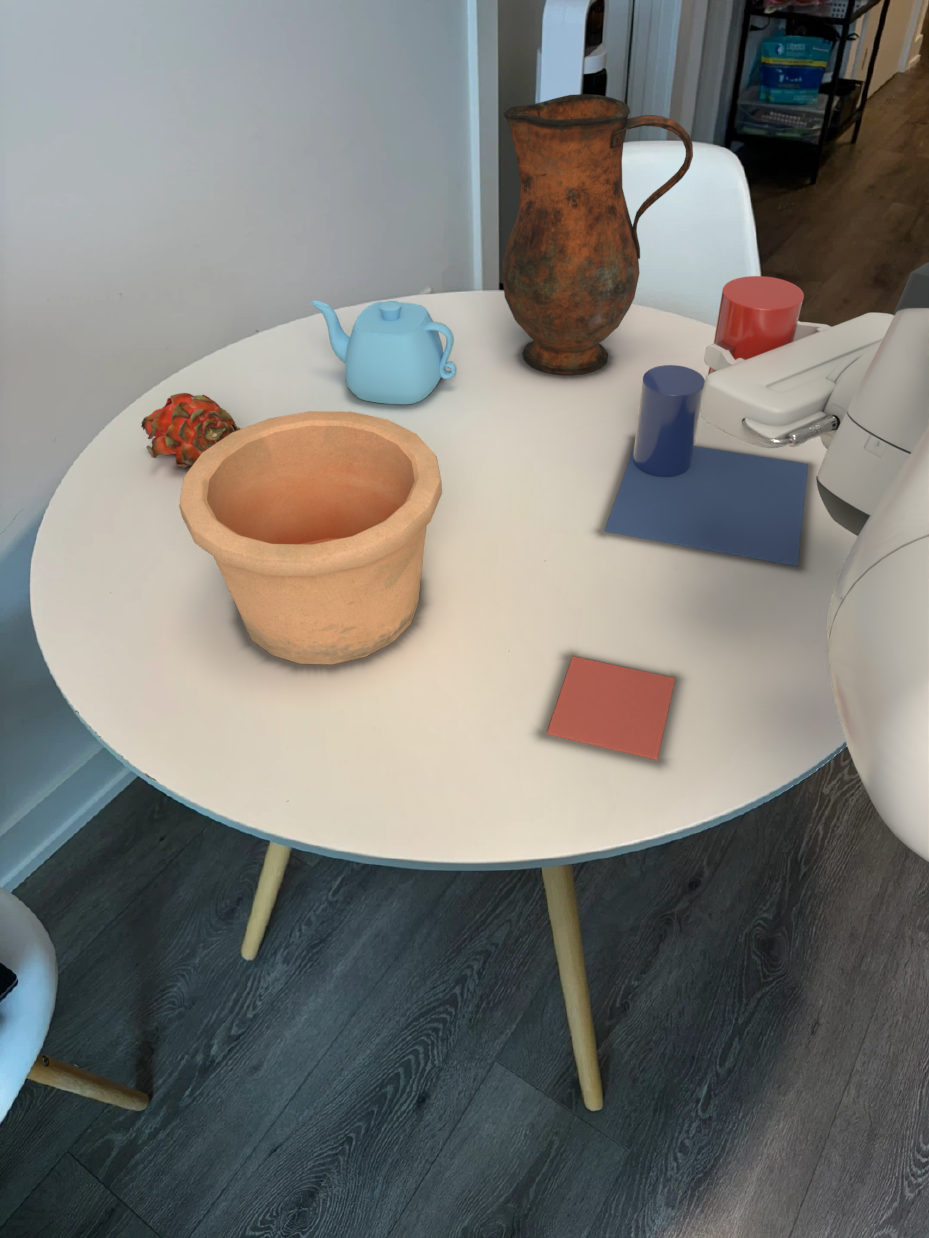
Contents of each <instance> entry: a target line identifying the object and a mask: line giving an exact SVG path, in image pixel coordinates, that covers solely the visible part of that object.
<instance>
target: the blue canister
mask: <svg viewBox="0 0 929 1238" xmlns="http://www.w3.org/2000/svg"><path fill="white" fill-rule="evenodd" d="M704 382H705V377H704V376H703V375H702V374H701V373H700V372H698V371H697V370H695V369H693V368H690V367H687V366H683V365H674V364H666V365H665V364H664V365H659V366H655V367H652V368H650V369H648V370H647V371H645V373H644V374H643V376H642V381H641V390H640V396H639V397H640V398H639V406H638V414H637V422H636V430H635V436H634V445H633V448H634V453H633V462H634V464H635V465H636V467H637V468H638V469H640V470H641V471H643V472H645V473H647V474H650V475H653V476H658V477H673V476H677V475H680V474H683V473H684V472H686V471H687V470H688V469H689V468H690V466H691V461H692V455H693V450H694V446H695V443H696V438H697V434H698V433H697V432H698V427H699V422H700V421H699V420H700V417H701V416H700V415H701V411H700V404H701V396H702V391H703V386H704Z"/></svg>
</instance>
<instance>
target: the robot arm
mask: <svg viewBox="0 0 929 1238" xmlns="http://www.w3.org/2000/svg"><path fill="white" fill-rule="evenodd" d="M908 276H909V277H908V279H907V281H906V283H905V285H904V288H903V291H902V293H901V295H900V298H899V300H898V303H896V307H895V308H894V312H893V314H891V313H887V312H886V313H885V312H867V313H864V314H862V315H860V316H857V317H854V318H852V319H849V320H846V321H844V322H841V323H838V324H836V325H833V326H831V325H828V324H825V323H816V322H808V321H807V322H806V321H800V320H798V325H797V329H796V333H795V337H794V342H791V343H789V344H786V345H783V346H781V347H778V348H776V349H773V350H770V351H768V352H765V353H762V354H760V355H757V356H755V357H752V358H749V359H747V360H744V359H742V358H738V359H736V360H735V359H734V358H733V355H734V349H735V347H734V346H732V345H730V344H726V342H724V341H719V342H717V343H714V342H713V343H714V344H713V343H711V344H708V345H707V346H706V347H705V353H704V358H703V359H704V364H705V365H706V367H707V366H708V368H709V367H711V368H713V369H714V370H716V371H715V372H713V373H710V374H709V375H708V374H707V375H706V377H704V380H705V382H704V386H703V391H702V396H701V404H700V415H701V416H700V417H701V418H702V420H703V421H704V422H706V423H707V424H708V425H710V426H713V427H714V428H716V429H718V430H720V431H722V432H724V433H726V434H728V435H730V436H732V437H734V438H736V439H739V440H741V441H743V442H745V443H748V444H750V445H753V446H756V447H759V448H763V449H780V448H782V447H783V448H784V447H785V446H786V447H787V446H788V447H791V448H793V447H794V448H795V447H798V446H801V445H804V444H806V442H808V441H809V440H812V439H815V438H818V437H820V441H821V443H822V445H823V447H824V448H825V449H827V450H826V452H825V454H824V456H823V459H822V461H821V464H820V465H819V470H818V473H817V475H816V477H815V479H816V486H817V491H818V493H819V497H820V499H821V501H822V503H823V505H824V507H825V509H826V511H827V513H828V514H829V516H830V517H831V519H832V520H833V521H834V522H835V523H837V524H838V525H839V526H841V527H842V528H844V529H846V530H847V531H848V532H850V533H852V534H853V535H855V536H856V539H855V540H854V542H853V544H852V546H851V548H850V550H849V551H848V553H847V555H846V558H845V559H844V562H843V564H842V566H841V568H840V572H839V574H838V577H837V579H836V583H835V586H834V587H833V592H832V595H831V599H830V603H829V608H828V613H827V621H826V639H827V641H826V643H827V653H828V663H829V673H830V682H831V689H832V695H833V700H834V704H835V710H836V713H837V716H838V721H839V724H840V727H841V730H842V734H843V737H844V742H845V744H846V747H847V749H848V752H849V755H850V758H851V759H852V762H853V765H854V767H855V769H856V772H857V774H858V777H859V779H860V781H861V784H862V785H863V787H864V789H865V791H866V793H867V795H868V797H869V799H870V801H871V803H872V805H873V807H874V808H875V810H876V812H877V814H878V816H879V817H880V818H881V820H882V821H883V822H884V824H885V825H886V826H887V827H888V829H889V830H890V831H891V832H892V834H893V835H894V836H895V837H896V838H897V839H898V840H900V842H902V843H903V844H904V845H905V846H906V847H907V848H909V849H910V850H911V851H912V852H913V853H915V854H916V855H918V856H919V857H920V858H922V859H923V860H925V861H926V862H928V863H929V261H927V262H926V263H924V264H922V265H921V266H919V267H917V268H916V269H914V270H913V271H911V272H910V273H909V275H908Z"/></svg>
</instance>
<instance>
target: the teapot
mask: <svg viewBox="0 0 929 1238" xmlns="http://www.w3.org/2000/svg"><path fill="white" fill-rule="evenodd" d="M310 303H311V305H312V306H314V307H315V309H317V310H318V311H319V312H320V313H321V314H322V316H323V318H324V320H325V323H326V327H327V331H328V337H329V343H330V346H331V349H332V351H333V353H334V355H335V356H336V357H337V358H338V359H339V360H340V361H341V362H342V363H344V377H345V383H346V385H347V387H348V388H349V390H350V391H351V392H352V393H353V395H354V396H355V397H356V398H358V399H359V400H362V401H367V402H372V403H378V404H385V405H413V404H416V403H419V402H421V401H423V400H424V399H425V398H427V397H428V396H429V395H430V394H431V393H432V392H433V391H434V390H435V388H436V387H437V385H438V384H439V381H440V380H441V378H442V379H444V380H450V379H453V378H454V377H455V376H456V375H457V373H458V372H457V371H458V369H457V365H456V364H455V362H453V361H448V360H449V358H450V355H451V353H452V350H453V347H454V342H455V341H454V340H455V339H454V337H455V336H454V333H453V331H452V330H451V329H450V327H449V326H447V325H446V324H444V323H442V322H439V321H434V320H433V318H432V316H431V314H430V313H429V311H428V309H427V308H426V307H425V306H423V305H422V304H418V303H412V302H401V301H397V300H385V301H377V302H374V303H371V304H370V305H368V306H367V307H366V308H365V307H364V309H363V310H362V311H361V312H360V313H359V314H358V316H357V317H356V319H355V322H354V324H353V327H352V330H351V333H350V334H349V335H348V334H347V333H346V332H345V331H344V329H343V327H342V325H341V322H340V319H339V317H338V315H337V313H336V311H335V310H334V308H333V307H332V306H331V305H330V304H327V303H325V302H323V301H319V300H311V301H310ZM439 333H440V334H442V335H443V336H444V337H445V339H446V343H445V347H444V348H443V343H442V340H441V336H440V334H439ZM446 368H448V369H450V370H447V369H446Z"/></svg>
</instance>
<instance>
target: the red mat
mask: <svg viewBox="0 0 929 1238" xmlns="http://www.w3.org/2000/svg"><path fill="white" fill-rule="evenodd" d="M675 682H676V678H675V677H671V676H667V675H663V674H658V673H653V672H648V671H643V670H639V669H634V668H630V667H624V666H621V665H620V666H619V665H617V664H611V663H606V662H601V661H598V660H593V659H588V658H582V657H578V656H575V655H574V656H572V657H571V660H570V663H569V665H568V669H567V672H566V675H565V677H564V681H563V683H562V686H561V689H560V692H559V696H558V699H557V701H556V704H555V706H554V709H553V710H554V711H553V714H552V716H551V719H550V722H549V726H548V729H547V731H546V734H547V735H549V736H554V737H557V738H562V739H567V740H571V741H576V742H579V743H583V744H588V745H591V746H595V747H600V748H603V749H609V750H613V751H616V752H620V753H621V752H622V753H626V754H630V755H634V756H639V757H641V758H642V757H643V758H647V759H650V760H651V759H652V760H656V761H658V759H659V754H660V750H661V746H662V741H663V736H664V732H665V727H666V722H667V717H668V713H669V709H670V705H671V700H672V695H673V690H674V686H675Z"/></svg>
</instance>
